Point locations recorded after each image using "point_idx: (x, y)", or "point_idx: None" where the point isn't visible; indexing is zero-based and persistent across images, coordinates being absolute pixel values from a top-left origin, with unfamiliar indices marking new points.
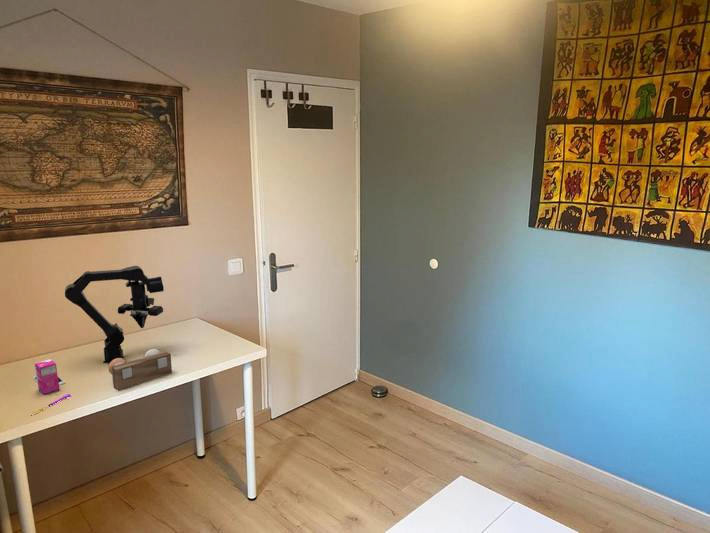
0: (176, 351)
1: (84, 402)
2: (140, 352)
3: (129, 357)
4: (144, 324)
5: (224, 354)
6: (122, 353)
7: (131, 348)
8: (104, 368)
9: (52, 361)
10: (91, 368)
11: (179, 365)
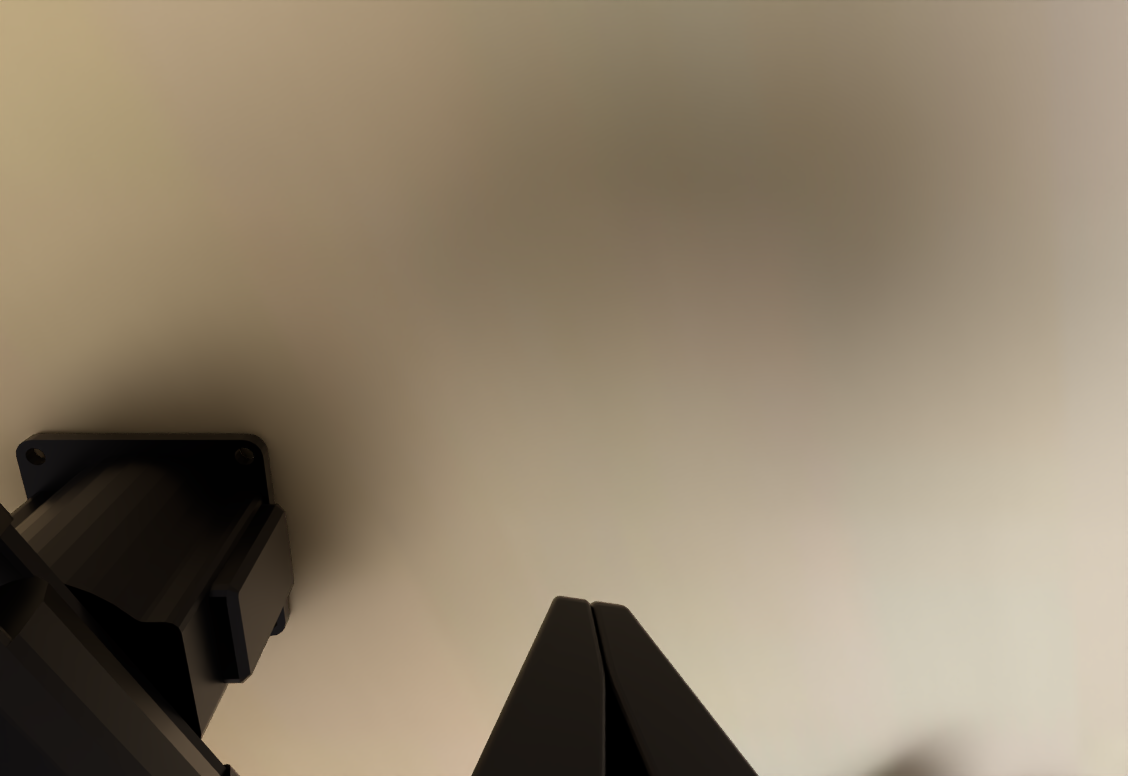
0: (1059, 197)
1: None
2: (441, 226)
3: (353, 433)
4: (679, 686)
5: None
6: (263, 564)
7: (168, 3)
8: None
9: None
10: None
11: (1115, 679)
